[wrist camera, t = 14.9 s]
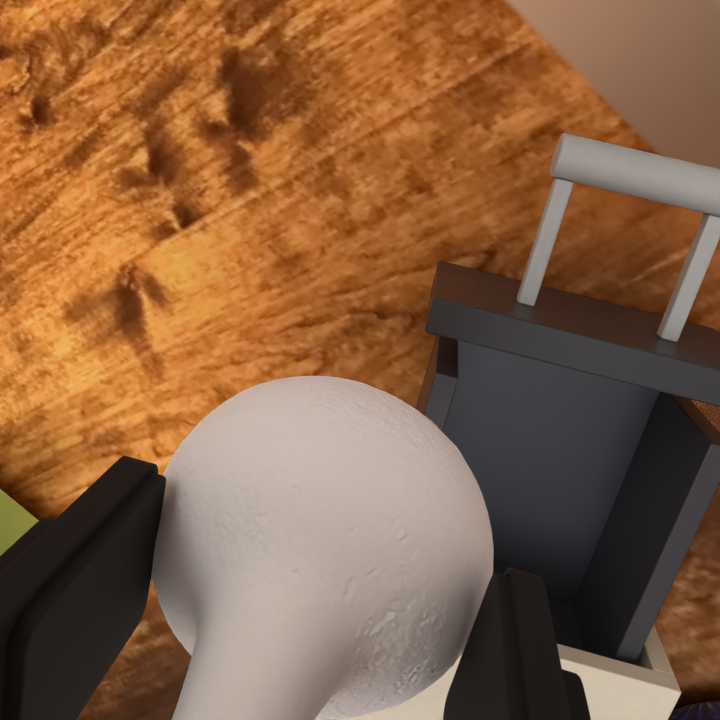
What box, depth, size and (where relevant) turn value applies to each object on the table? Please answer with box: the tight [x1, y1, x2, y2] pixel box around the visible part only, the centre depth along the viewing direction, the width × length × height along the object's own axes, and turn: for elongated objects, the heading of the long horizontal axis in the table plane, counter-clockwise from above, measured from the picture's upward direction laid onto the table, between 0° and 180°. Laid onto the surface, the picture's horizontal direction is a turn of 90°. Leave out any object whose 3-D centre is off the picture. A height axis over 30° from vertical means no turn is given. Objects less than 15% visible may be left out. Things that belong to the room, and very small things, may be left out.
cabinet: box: [315, 624, 681, 720], centre depth 31 cm, size 16×13×9 cm
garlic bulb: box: [151, 376, 494, 720], centre depth 10 cm, size 6×6×8 cm
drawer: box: [416, 133, 720, 665], centre depth 26 cm, size 20×11×7 cm, turn 167°
